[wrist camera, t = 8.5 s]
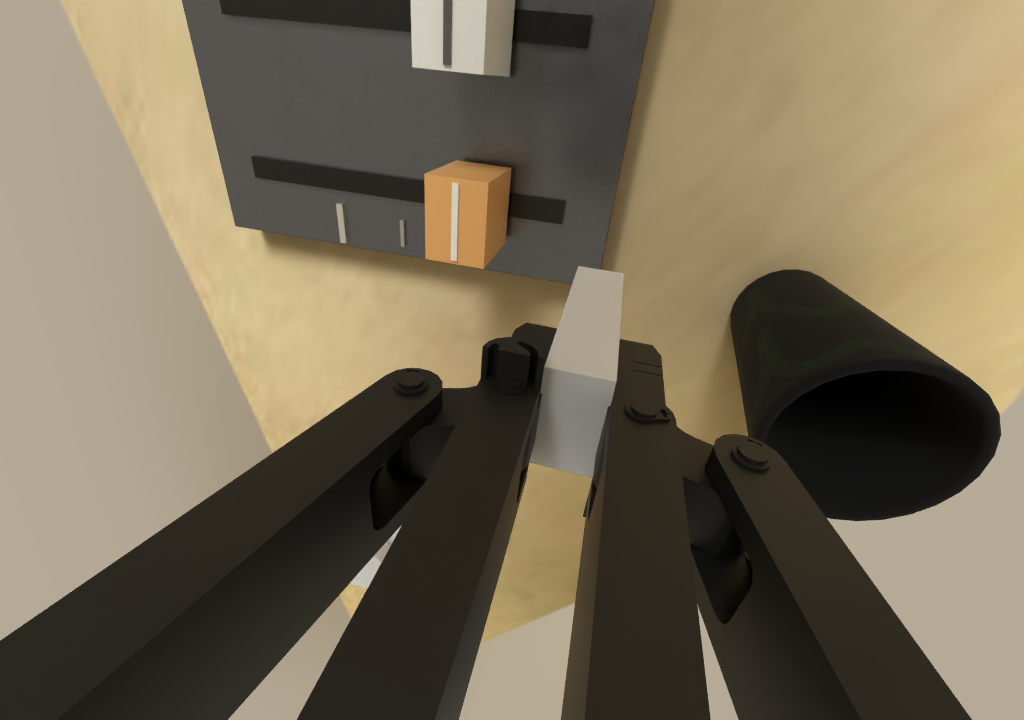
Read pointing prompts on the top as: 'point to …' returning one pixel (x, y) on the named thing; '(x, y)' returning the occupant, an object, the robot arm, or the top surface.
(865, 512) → the cup
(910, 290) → the top surface
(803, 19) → the top surface
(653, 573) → the robot arm
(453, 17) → the fader
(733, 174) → the top surface
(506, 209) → the fader
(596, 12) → the console
